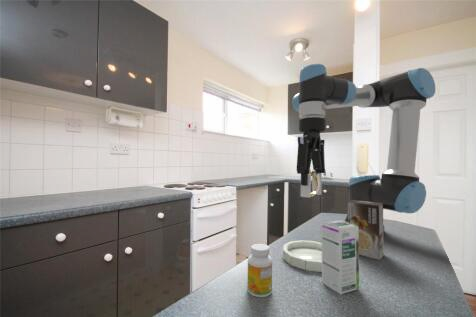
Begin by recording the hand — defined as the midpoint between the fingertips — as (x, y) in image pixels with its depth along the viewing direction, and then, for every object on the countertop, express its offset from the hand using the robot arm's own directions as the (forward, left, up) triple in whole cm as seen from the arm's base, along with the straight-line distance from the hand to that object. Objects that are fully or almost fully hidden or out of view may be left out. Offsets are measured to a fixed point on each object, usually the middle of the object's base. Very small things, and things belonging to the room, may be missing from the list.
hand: (311, 195), depth 67 cm
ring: (0, 0, 0) cm, 0 cm away
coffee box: (-16, +11, -19) cm, 27 cm away
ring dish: (0, 0, -19) cm, 19 cm away
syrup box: (+10, +11, -19) cm, 24 cm away
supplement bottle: (+24, -1, -19) cm, 31 cm away
